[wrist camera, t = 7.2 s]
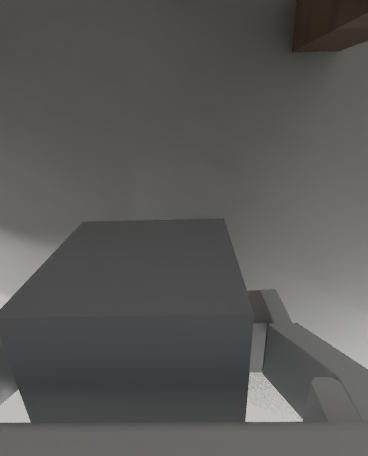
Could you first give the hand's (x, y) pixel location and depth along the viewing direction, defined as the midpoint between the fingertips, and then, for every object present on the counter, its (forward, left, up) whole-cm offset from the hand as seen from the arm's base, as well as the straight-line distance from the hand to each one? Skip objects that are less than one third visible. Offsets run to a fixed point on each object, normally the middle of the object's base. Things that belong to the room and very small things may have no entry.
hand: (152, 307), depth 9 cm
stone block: (0, 0, -2) cm, 2 cm away
